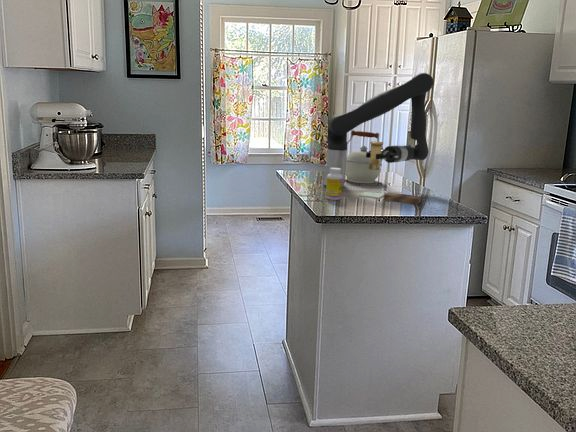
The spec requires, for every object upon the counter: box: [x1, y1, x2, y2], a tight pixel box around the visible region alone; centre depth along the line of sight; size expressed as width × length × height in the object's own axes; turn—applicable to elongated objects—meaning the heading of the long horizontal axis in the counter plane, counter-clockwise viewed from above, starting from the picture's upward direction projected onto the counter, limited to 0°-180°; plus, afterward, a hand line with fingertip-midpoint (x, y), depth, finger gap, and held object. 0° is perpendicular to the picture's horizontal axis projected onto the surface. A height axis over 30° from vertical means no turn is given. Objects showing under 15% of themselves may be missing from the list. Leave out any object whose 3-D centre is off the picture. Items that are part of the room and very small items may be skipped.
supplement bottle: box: [325, 168, 343, 201], centre depth 234 cm, size 7×7×13 cm
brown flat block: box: [382, 191, 421, 206], centre depth 238 cm, size 14×7×2 cm, turn 66°
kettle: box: [345, 129, 385, 184], centre depth 281 cm, size 25×18×25 cm
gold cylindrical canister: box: [369, 140, 384, 171], centre depth 242 cm, size 6×6×12 cm
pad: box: [358, 191, 386, 200], centre depth 246 cm, size 9×9×1 cm
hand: (371, 155), depth 241 cm, fingers closed on gold cylindrical canister, 4 cm apart
